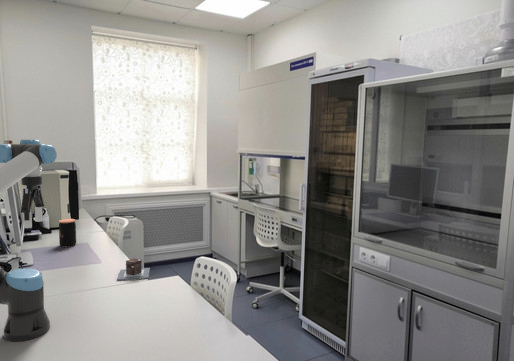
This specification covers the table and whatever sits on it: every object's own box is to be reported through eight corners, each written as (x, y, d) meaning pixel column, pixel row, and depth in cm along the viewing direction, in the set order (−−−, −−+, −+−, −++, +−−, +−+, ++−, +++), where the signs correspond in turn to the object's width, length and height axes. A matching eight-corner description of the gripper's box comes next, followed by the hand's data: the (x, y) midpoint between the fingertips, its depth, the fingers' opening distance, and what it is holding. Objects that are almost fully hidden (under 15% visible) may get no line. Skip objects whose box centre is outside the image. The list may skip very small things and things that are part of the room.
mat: (148, 278, 201) (148, 277, 201) (116, 280, 197) (116, 279, 197) (149, 269, 217) (149, 267, 217) (120, 270, 213) (120, 269, 213)
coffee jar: (60, 244, 269) (59, 219, 267) (76, 242, 273) (75, 218, 271) (59, 247, 259) (58, 222, 257) (76, 246, 263) (75, 221, 262)
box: (125, 273, 206) (125, 260, 205) (133, 270, 211) (133, 258, 210) (133, 275, 203) (133, 262, 202) (141, 272, 208) (141, 259, 207)
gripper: (31, 178, 149) (33, 230, 151) (50, 173, 173) (51, 218, 175) (9, 178, 147) (12, 231, 149) (32, 173, 171) (34, 219, 173)
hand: (33, 224), depth 162 cm, fingers open, 13 cm apart
